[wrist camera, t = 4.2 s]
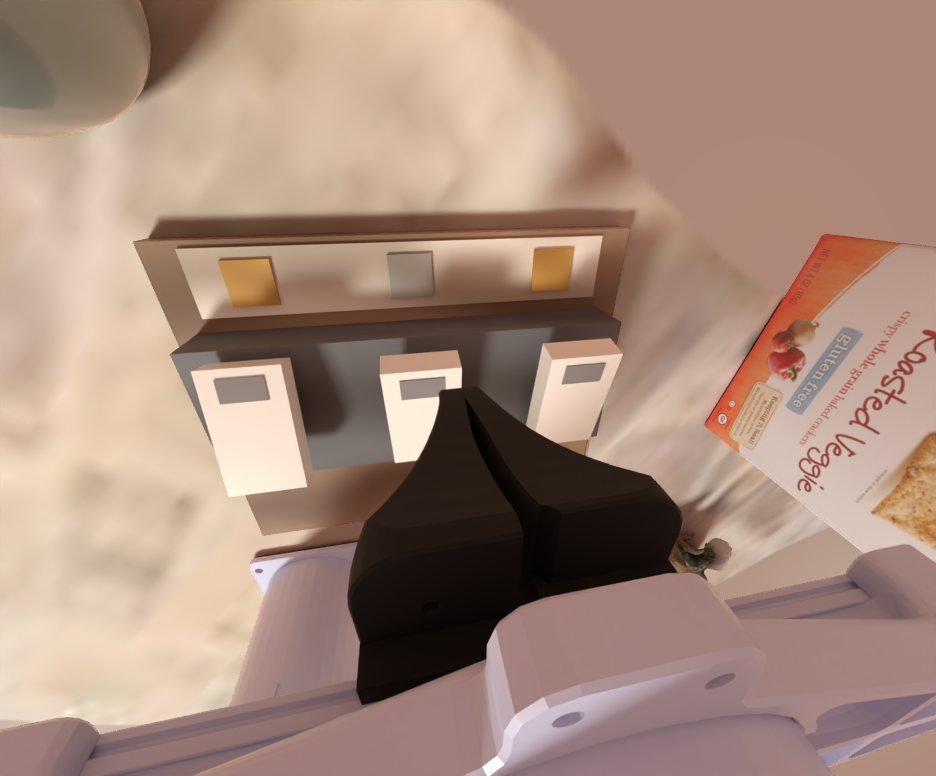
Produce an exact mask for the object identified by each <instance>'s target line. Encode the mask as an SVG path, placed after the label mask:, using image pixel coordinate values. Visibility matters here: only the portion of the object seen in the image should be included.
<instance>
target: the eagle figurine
mask: <svg viewBox="0 0 936 776" xmlns="http://www.w3.org/2000/svg"><path fill="white" fill-rule="evenodd" d="M693 536H694V533H693V532H690V533H688V534H687V535H678V538H677V540H676V542H675V545H674V547H673V549H672V552H671V554H670V556H669V561H670V562H671V564H672V565H673V566H674V568H675V569H676V570H677V572H678V573H693V574H697V575H699V576H701V577H702V578H704V579H705V580H706V581H707V578H706V576H705V575H704V570H705V569H707V568H708V569H713V570H717V571H720V570H723V568H724V567H725V566H726V564H727V562H728V560H729V558H730V556H731V551H732V548H731V547H730V546H729V544H728V543H727V542H726V541H723V540H721V539H718V538H714V539H712V540H711V541H710V542H709V543H708V544H707V543H706V544H705V547H704V549H695V548H693V547H691V546H690V545H688V544H687V543H686V542H685V540H687V539H690V538H692V537H693Z"/></svg>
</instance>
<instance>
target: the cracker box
mask: <svg viewBox="0 0 936 776" xmlns="http://www.w3.org/2000/svg"><path fill="white" fill-rule="evenodd" d="M705 426H706V427H707V428H708V429H709V430H711V431H712V432H713V433H714V434H716V435H717V436H718V437H719V438H721V439H722V440H723V441H724V442H725V443H727V444H728V445H729V446H730V447H731V448H733V449H734V450H735V451H737V452H738V453H739V454H740V455H741V456H743V457H744V458H745V459H747V460H748V461H749V462H750V463H752V464H753V465H754V466H756V467H757V468H758V469H759V470H761V471H762V472H763V473H764V474H766V475H767V476H768V477H769V478H771V479H772V480H773V481H774V482H776V483H777V484H778V485H779V486H781V487H782V488H783V489H784V490H786V491H787V492H788V493H790V494H791V495H792V496H793V497H794V498H796V499H797V500H798V501H799V502H801V503H802V504H803V505H804V506H806V507H807V508H808V509H809V510H811V511H812V512H813V513H814V514H816V515H817V516H818V517H819V518H821V519H822V520H823V521H824V522H826V523H827V524H828V525H829V526H831V527H832V528H833V529H834V530H836V531H837V532H838V533H839V534H841V535H842V536H843V537H844V538H846V539H847V540H848V541H849V542H851V543H852V544H853V545H854V546H856V547H857V548H858V549H860V550H861V551H862V552H863V553H864V554H865V553H867V552H870V551H872V550H877V549H882V548H887V547H892V546H897V545H902V544H908V545H911V546H913V547H914V548H915V549H917V550H918V551H920V552H921V553H923V554H924V555H925V556H927V557H928V558H930V559H931V560H933V561H934V562H935V563H936V247H930V246H922V245H914V244H905V243H895V242H886V241H878V240H871V239H863V238H855V237H847V236H838V235H829V234H825V235H823V236H822V237H821V238H820V240H819V242H818V244H817V246H816V247H815V249H814V250H813V252H812V254H811V255H810V257H809V258H808V260H807V262H806V263H805V265H804V267H803V268H802V270H801V271H800V273H799V275H798V276H797V278H796V279H795V281H794V283H793V284H792V286H791V287H790V289H789V291H788V292H787V294H786V295H785V297H784V299H783V300H782V302H781V303H780V305H779V307H778V308H777V310H776V311H775V313H774V315H773V316H772V318H771V319H770V321H769V322H768V324H767V326H766V327H765V329H764V331H763V332H762V334H761V336H760V337H759V339H758V340H757V342H756V344H755V345H754V347H753V348H752V350H751V351H750V353H749V355H748V356H747V358H746V360H745V361H744V363H743V364H742V366H741V368H740V369H739V371H738V372H737V374H736V376H735V377H734V379H733V380H732V382H731V384H730V385H729V387H728V388H727V390H726V392H725V393H724V395H723V396H722V398H721V400H720V401H719V403H718V404H717V406H716V407H715V409H714V411H713V412H712V414H711V415H710V417H709V419H708V420H707V422H706V424H705Z"/></svg>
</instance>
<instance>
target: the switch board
mask: <svg viewBox="0 0 936 776" xmlns="http://www.w3.org/2000/svg"><path fill="white" fill-rule="evenodd" d="M629 231H630V228H626V227H621V226H609V227H570V228H532V229H494V230H456V231H418V232H380V233H341V234H303V235H265V236H227V237H189V238H151V239H143V240H138V241H134V242H133V244H134V246H135V248H136V250H137V253H138V255H139V257H140V259H141V262H142V264H143V266H144V268H145V271H146V273H147V275H148V277H149V280H150V282H151V284H152V286H153V289H154V291H155V293H156V295H157V298H158V300H159V302H160V304H161V307H162V309H163V311H164V313H165V316H166V318H167V320H168V322H169V325H170V327H171V329H172V331H173V334H174V336H175V338H176V340H177V343H178V345H179V348H178V349H176V350H175V351H174V352H172V353H171V354H170V356H171V358H172V360H173V362H174V364H175V366H176V369H177V371H178V373H179V375H180V377H181V379H182V381H183V384H184V386H185V388H186V390H187V392H188V394H189V397H190V399H191V401H192V403H193V405H194V407H195V410H196V412H197V414H198V416H199V418H200V420H201V422H202V425H203V427H204V429H205V431H206V433H207V435H208V438H209V440H210V442H211V444H212V440H211V437H210V434H209V431H208V427H207V424H206V421H205V417H204V414H203V411H202V407H201V404H200V401H199V397H198V394H197V391H196V388H195V384H194V381H193V378H192V374H191V371H192V370H195V369H197V368H199V367H201V366H203V365H205V364H209V363H222V362H235V361H248V360H262V359H275V358H288V357H290V361H291V365H292V370H293V375H294V380H295V385H296V390H297V394H298V399H299V404H300V409H301V414H302V419H303V424H304V428H305V433H306V438H307V443H308V448H309V453H310V457H311V462H312V467H313V472H314V473H313V475H312V477H311V480H310V482H309V484H308V486H307V487H303V488H295V489H287V490H280V491H272V492H264V493H256V494H249V495H245V496H246V498H247V500H248V503H249V505H250V507H251V509H252V512H253V514H254V516H255V518H256V521H257V523H258V525H259V527H260V530H261V532H262V534H263V536H264V535H271V534H278V533H284V532H291V531H298V530H305V529H312V528H319V527H326V526H332V525H339V524H346V523H353V522H360V521H366V520H367V519H369V518H370V517H371V516H372V515H373V514H374V513H375V512H376V511H377V510H378V509H379V508H380V507H381V506H382V505H383V504H384V503H385V502H386V501H387V499H388V498H389V497H390V496H391V495H392V494H393V492H394V491H395V490H396V489H397V488H398V486H399V485H400V484H401V483H402V481H403V480H404V479H405V478H406V476H407V475H408V473H409V472H410V470H411V469H412V467H413V466H414V464H415V463H416V461H417V460H416V461H408V462H400V463H395V460H394V454H393V448H392V443H391V437H390V431H389V425H388V420H387V414H386V408H385V402H384V397H383V391H382V385H381V379H380V356H388V355H401V354H414V353H427V352H440V351H453V350H457V351H458V355H459V358H460V362H461V366H462V384H461V388H464V387H473V386H478V387H479V388H480V389H481V390H482V391H483V392H485V393H486V394H487V395H488V396H489V397H490V398H491V399H492V400H494V401H495V402H496V403H497V404H498V405H499V406H500V407H502V408H503V409H504V410H505V411H507V412H508V413H509V414H510V415H512V416H513V417H515V418H516V419H517V420H519V421H520V422H522V423H523V424H525V425H526V423H527V418H528V413H529V408H530V404H531V399H532V394H533V389H534V384H535V379H536V375H537V370H538V365H539V360H540V355H541V350H542V346H543V343H555V342H568V341H581V340H594V339H607V338H611V340H612V341H613V342H614V343H615V344H617V340H618V335H619V330H620V326H621V322H620V321H618V320H616V319H615V318H613V317H612V315H613V310H614V305H615V300H616V295H617V290H618V285H619V280H620V276H621V271H622V266H623V261H624V256H625V251H626V246H627V241H628V236H629ZM602 408H603V406H602ZM601 413H602V409H601V411H600V414H599V416H598V419H597V422H596V424H595V427H594V429H593V432H592V434H591V437H593V436H597V431H598V427H599V422H600V418H601ZM586 443H587V439H586V440H578V441H570V442H562V443H557V444H559V445H561V446H564V447H566V448H568V449H570V450H572V451H575V452H577V453H579V454H582V455H584V453H585V448H586ZM212 446H213V444H212ZM213 448H214V447H213ZM214 451H215V450H214Z"/></svg>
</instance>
